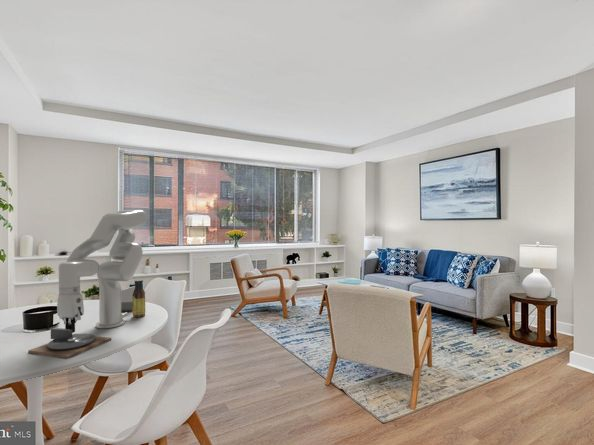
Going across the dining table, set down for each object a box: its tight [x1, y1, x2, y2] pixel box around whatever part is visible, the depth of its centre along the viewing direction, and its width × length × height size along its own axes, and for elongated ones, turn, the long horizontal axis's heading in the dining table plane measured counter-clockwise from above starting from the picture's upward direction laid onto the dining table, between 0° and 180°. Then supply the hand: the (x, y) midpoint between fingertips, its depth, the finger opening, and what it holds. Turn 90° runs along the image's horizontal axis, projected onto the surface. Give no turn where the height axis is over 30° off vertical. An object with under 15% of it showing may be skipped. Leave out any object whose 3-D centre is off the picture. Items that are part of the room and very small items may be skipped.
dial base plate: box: [27, 335, 112, 359], centre depth 135 cm, size 20×20×1 cm
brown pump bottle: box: [132, 279, 146, 318], centre depth 178 cm, size 6×6×20 cm
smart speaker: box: [121, 285, 135, 312], centre depth 190 cm, size 10×9×14 cm
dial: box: [47, 327, 96, 351], centre depth 135 cm, size 18×16×5 cm
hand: (70, 332), depth 141 cm, fingers closed
